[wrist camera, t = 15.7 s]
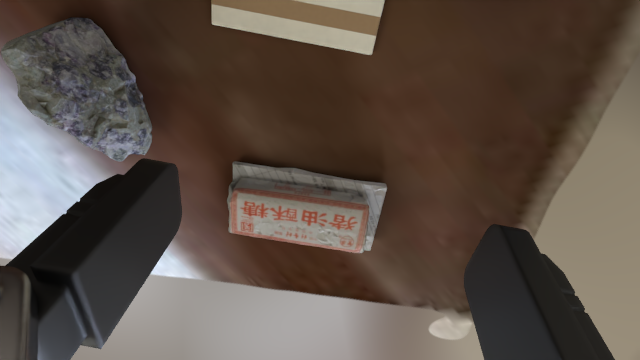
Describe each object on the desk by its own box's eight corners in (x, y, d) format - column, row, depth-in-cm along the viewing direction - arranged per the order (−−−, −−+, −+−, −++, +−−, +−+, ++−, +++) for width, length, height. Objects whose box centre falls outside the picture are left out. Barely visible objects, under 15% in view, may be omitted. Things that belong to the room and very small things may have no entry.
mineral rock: (160, 146, 41) (109, 198, 33) (68, 123, 41) (-7, 171, 33) (155, 32, 34) (88, 62, 26) (42, 3, 33) (-62, 25, 25)
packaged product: (224, 247, 43) (221, 181, 37) (236, 221, 47) (234, 157, 41) (371, 271, 43) (390, 207, 37) (370, 242, 47) (387, 181, 41)
